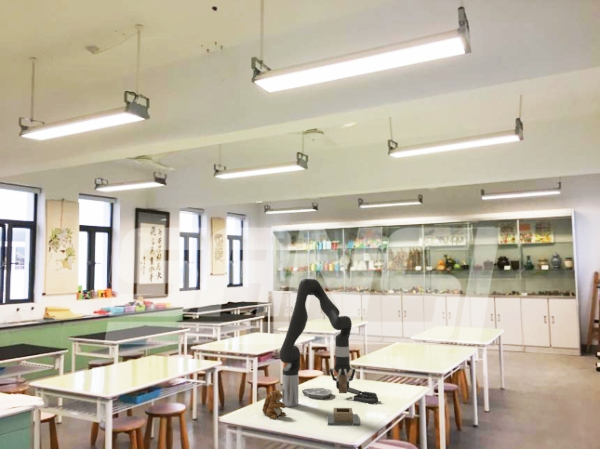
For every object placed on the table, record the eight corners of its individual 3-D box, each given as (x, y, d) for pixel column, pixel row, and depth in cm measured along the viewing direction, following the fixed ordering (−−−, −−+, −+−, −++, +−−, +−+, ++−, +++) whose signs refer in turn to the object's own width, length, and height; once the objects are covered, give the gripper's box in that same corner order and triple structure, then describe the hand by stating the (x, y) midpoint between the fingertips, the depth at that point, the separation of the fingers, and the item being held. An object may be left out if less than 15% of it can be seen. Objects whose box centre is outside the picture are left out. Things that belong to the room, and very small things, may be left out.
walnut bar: (339, 393, 244) (338, 375, 245) (338, 391, 248) (338, 373, 249) (346, 393, 244) (346, 375, 245) (346, 391, 248) (346, 373, 249)
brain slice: (339, 396, 296) (339, 391, 296) (321, 401, 283) (321, 396, 283) (315, 391, 308) (315, 386, 309) (297, 396, 296) (297, 391, 296)
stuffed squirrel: (275, 420, 246) (275, 393, 247) (256, 414, 255) (257, 389, 257) (288, 415, 253) (288, 390, 254) (270, 410, 262) (270, 386, 264)
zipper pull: (342, 384, 297) (379, 389, 283) (343, 395, 296) (380, 401, 282) (335, 387, 289) (373, 392, 275) (336, 398, 288) (373, 404, 275)
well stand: (327, 425, 237) (327, 414, 237) (327, 415, 253) (327, 406, 253) (360, 425, 236) (359, 415, 237) (357, 416, 252) (357, 406, 253)
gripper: (328, 356, 245) (329, 390, 243) (356, 356, 244) (357, 390, 242) (328, 353, 252) (328, 387, 250) (355, 353, 252) (356, 387, 250)
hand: (342, 388), depth 246 cm, fingers closed on walnut bar, 4 cm apart
